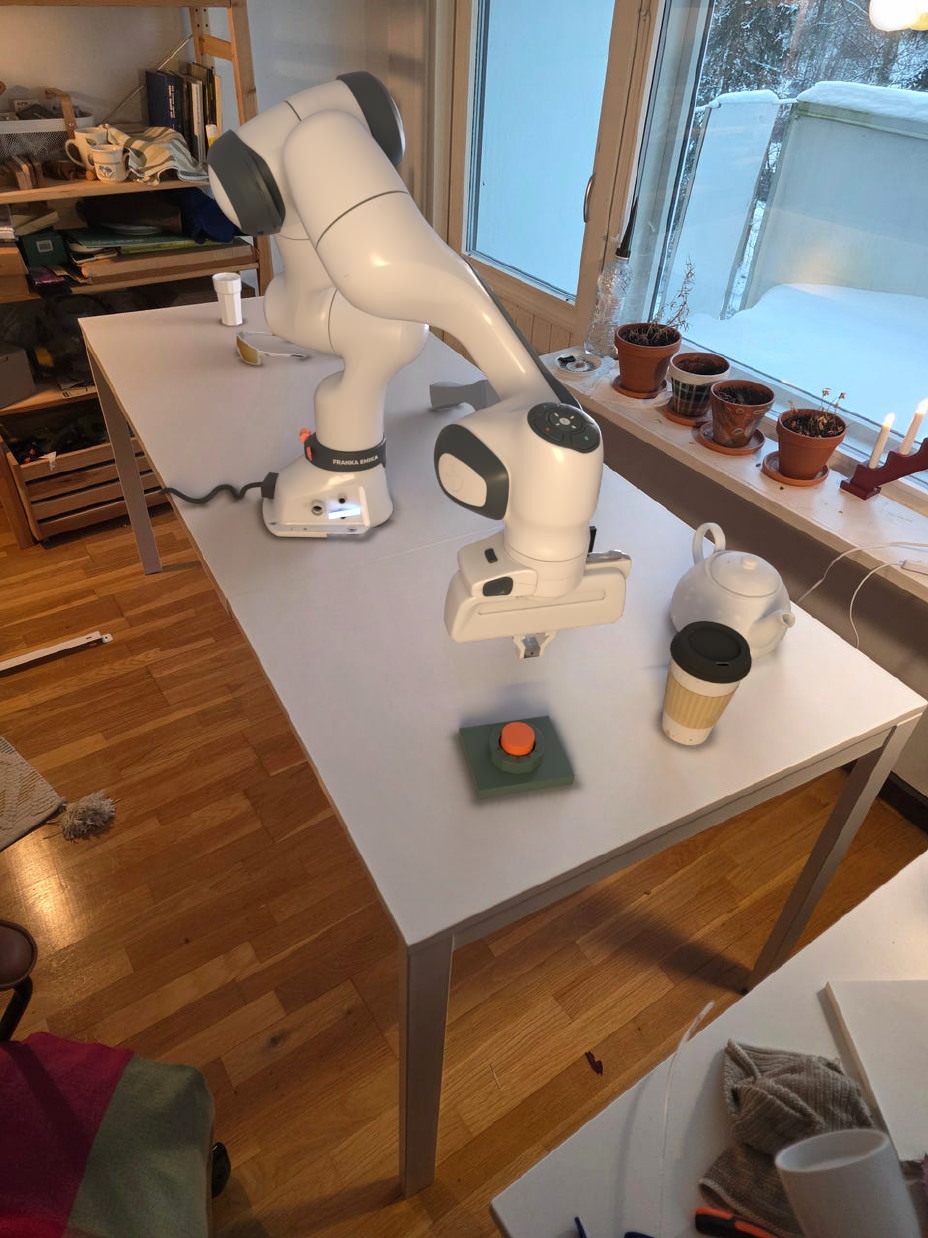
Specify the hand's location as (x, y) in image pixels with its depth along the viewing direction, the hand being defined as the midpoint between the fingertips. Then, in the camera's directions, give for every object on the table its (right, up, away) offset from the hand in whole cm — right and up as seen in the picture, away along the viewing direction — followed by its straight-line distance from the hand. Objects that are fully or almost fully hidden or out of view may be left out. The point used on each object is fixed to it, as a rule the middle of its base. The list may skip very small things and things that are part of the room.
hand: (528, 654), depth 93 cm
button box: (-1, -14, +7) cm, 15 cm away
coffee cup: (+22, -10, +13) cm, 28 cm away
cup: (-66, +79, +110) cm, 151 cm away
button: (-1, -11, +5) cm, 12 cm away
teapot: (+32, +3, +30) cm, 44 cm away
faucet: (-6, +41, +71) cm, 83 cm away
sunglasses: (-53, +67, +97) cm, 129 cm away
